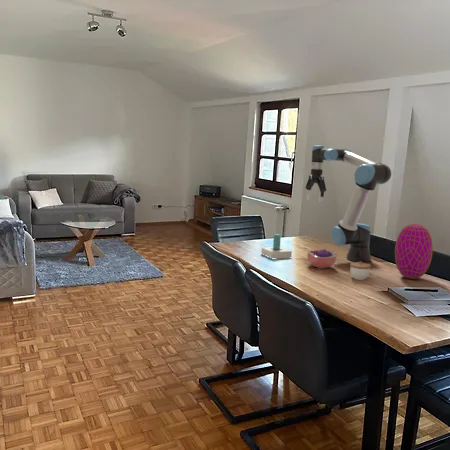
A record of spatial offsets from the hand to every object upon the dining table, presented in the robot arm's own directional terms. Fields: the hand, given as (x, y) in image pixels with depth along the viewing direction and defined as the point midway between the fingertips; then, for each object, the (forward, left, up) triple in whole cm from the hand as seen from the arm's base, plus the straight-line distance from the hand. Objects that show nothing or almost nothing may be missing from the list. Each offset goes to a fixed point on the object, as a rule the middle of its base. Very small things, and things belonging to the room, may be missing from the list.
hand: (314, 200), depth 316 cm
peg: (-8, +32, -35) cm, 48 cm away
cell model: (-40, +20, -35) cm, 57 cm away
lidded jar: (-67, +14, -35) cm, 77 cm away
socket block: (-8, +32, -35) cm, 48 cm away
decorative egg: (-75, -15, -35) cm, 84 cm away
